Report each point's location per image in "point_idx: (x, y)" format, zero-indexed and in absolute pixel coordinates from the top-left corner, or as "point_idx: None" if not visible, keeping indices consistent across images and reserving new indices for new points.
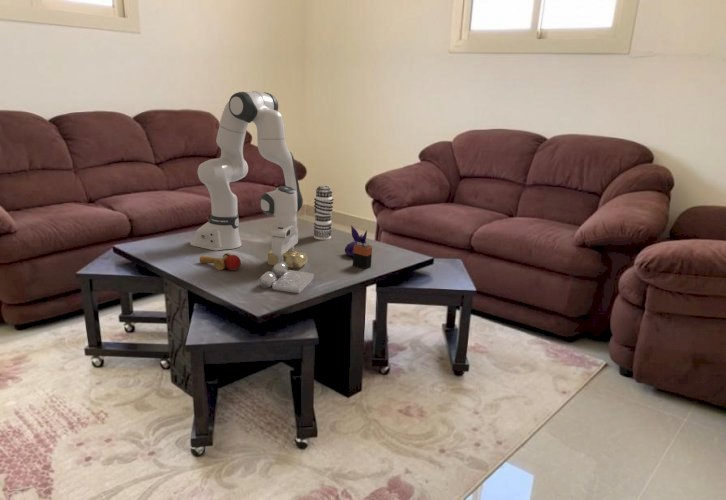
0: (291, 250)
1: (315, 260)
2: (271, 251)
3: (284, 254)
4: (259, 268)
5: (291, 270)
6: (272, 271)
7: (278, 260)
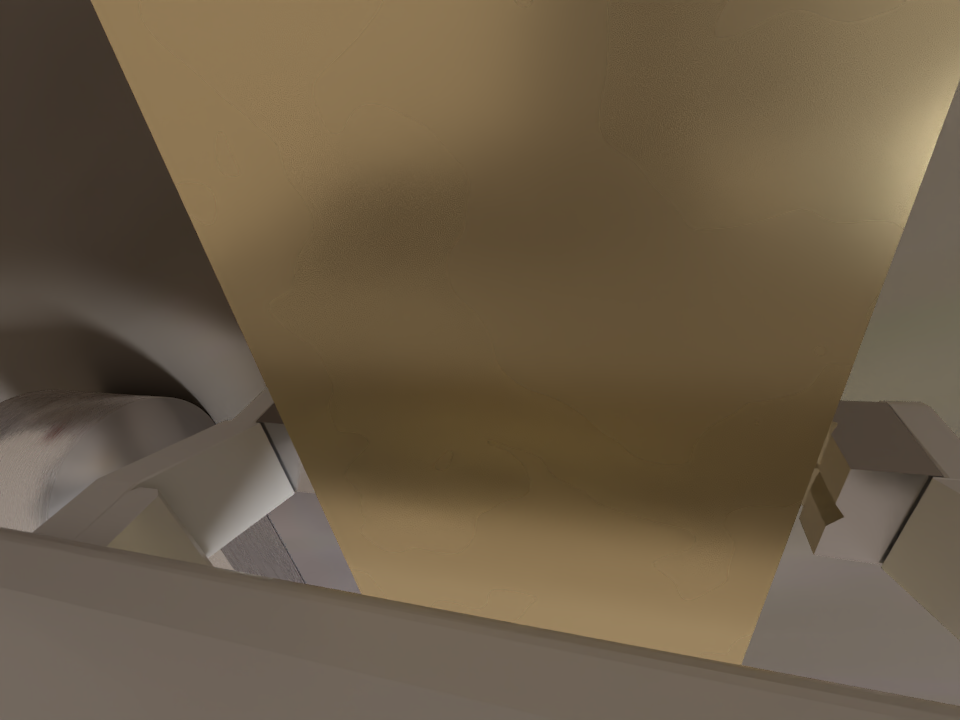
0: (948, 601)
1: (893, 659)
2: (341, 57)
3: (376, 548)
4: (71, 9)
5: (218, 556)
6: (14, 403)
7: (254, 400)
